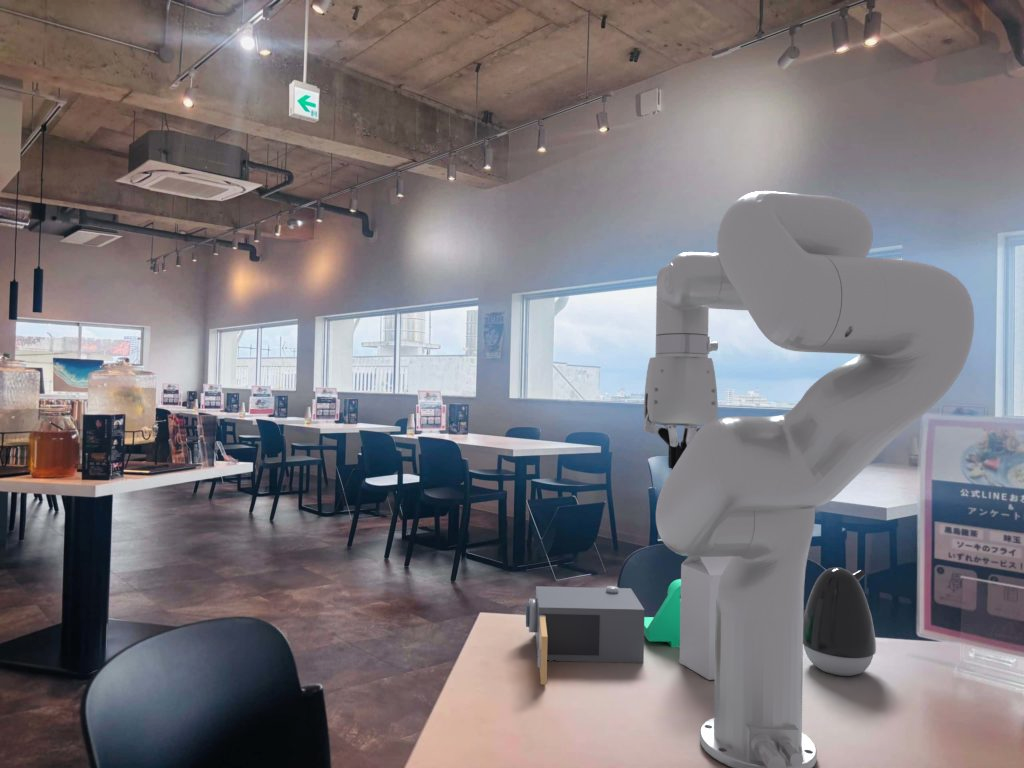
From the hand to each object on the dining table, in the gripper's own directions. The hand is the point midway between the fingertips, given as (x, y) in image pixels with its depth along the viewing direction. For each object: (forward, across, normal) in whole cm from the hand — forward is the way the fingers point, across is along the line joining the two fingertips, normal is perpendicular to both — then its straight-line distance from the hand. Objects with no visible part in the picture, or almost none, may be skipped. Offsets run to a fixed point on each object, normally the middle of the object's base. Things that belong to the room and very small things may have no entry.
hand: (679, 473), depth 103 cm
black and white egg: (+29, -25, -3) cm, 39 cm away
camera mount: (+30, -4, -15) cm, 33 cm away
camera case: (+29, +12, -10) cm, 33 cm away
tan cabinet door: (+29, +20, +1) cm, 35 cm away
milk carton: (+29, -6, -2) cm, 30 cm away
